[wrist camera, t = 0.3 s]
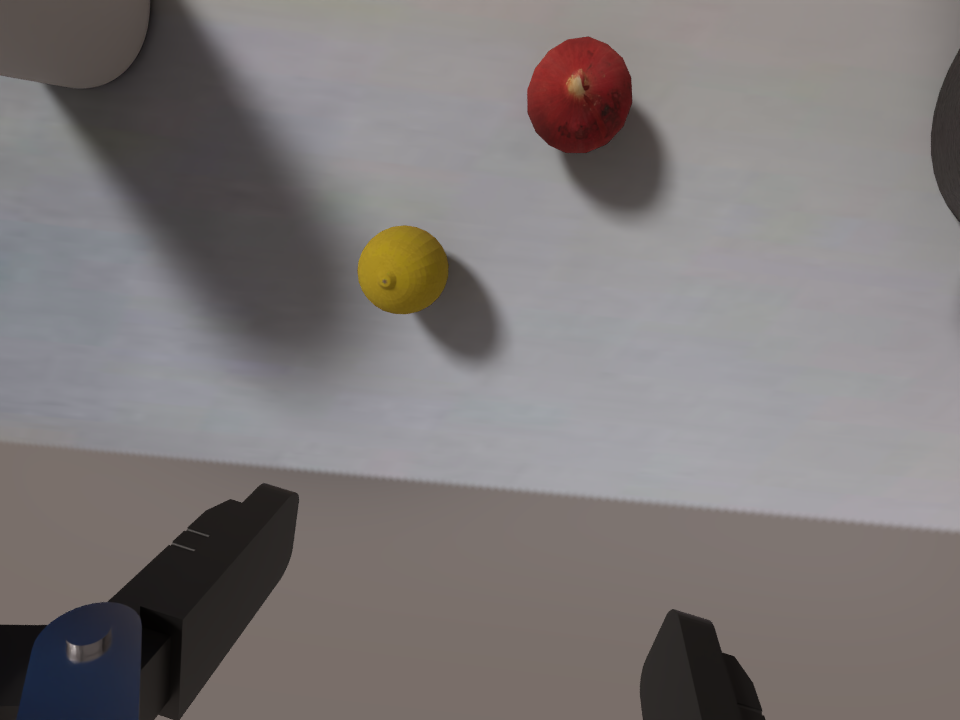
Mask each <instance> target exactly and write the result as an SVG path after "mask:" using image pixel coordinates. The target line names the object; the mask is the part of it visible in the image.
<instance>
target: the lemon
mask: <svg viewBox="0 0 960 720" xmlns="http://www.w3.org/2000/svg"><path fill="white" fill-rule="evenodd" d="M448 267H449V266H448V261H447V256H446V254H445V252H444V249H443V247H442V246H441V244H440V243H439V242H438V241H437V239H436V238H435V237H433V236H432V235H431V234H429V233H428V232H427V231H424V230H422V229H420V228H417V227H412V226H396V227H391V228H389V229H386V230H384V231H381V232H380V233H379V234H377V235H376V236H375V237H373V238H372V239H371V240H370V241H369V243H368V244H367V245H366V247H365V248H364V249H363V251H362V254H361V256H360V259H359V263H358V279H359V283H360V286H361V289H362V291H363V293H364V294H365V296H366V297H367V298H368V299H369V300H370V301H371V302H372V303H373V304H374V305H375V306H376V307H378V308H380V309H382V310H383V311H386V312H390V313H393V314H410V313H414V312H418V311H421V310H422V309H424V308H426V307H428V306H430V305H431V304H432V303H433V302H434V301H435V300H436V299H437V298H438V297H439V296H440V294H441V293H442V291H443V289H444V288H445V285H446V282H447V278H448Z"/></svg>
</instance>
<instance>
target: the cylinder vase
mask: <svg viewBox="0 0 960 720" xmlns="http://www.w3.org/2000/svg"><path fill="white" fill-rule="evenodd" d="M149 16H150V0H0V75H1V76H6V77H12V78H18V79H23V80H29V81H35V82H40V83H46V84H52V85H57V86H63V87H69V88H92V87H97V86H101V85H104V84H106V83H108V82H110V81H112V80H114V79H116V78H117V77H118V76H120V75H121V74H122V73H123V72H125V71H126V70H127V69H128V67H129V66H130V65H131V64H132V63H133V61H134V60H135V58H136V57H137V55H138V53H139V51H140V49H141V47H142V45H143V42H144V39H145V36H146V33H147V29H148V23H149Z"/></svg>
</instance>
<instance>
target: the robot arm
mask: <svg viewBox="0 0 960 720" xmlns="http://www.w3.org/2000/svg"><path fill="white" fill-rule="evenodd" d="M298 503H299V496H298V494H297V493H295V492H292V491H289V490H285V489H282V488H279V487H275V486H272V485H269V484H265V483H263V484H261V485H260V486H259V487H257V489H255V491H253V493H252V494H251V495H250V496H249V497H248V498H247V499H246V500H245V501H244V502H243V503H241V502H238V501H235V500H231V499H230V500H228V501H225V502H223V503H221V504H219V505H217V506H215V507H213V508H211V509H208V510H206V511H205V512H204V513H203V514H202V515H201V516H200V517H198V518H197V519H196V520H195V521H194V522H193V523H192V524H191V525H190V526H189V527H188V529H187V531H183V533H181V534H180V535H179V536H178V537H177V538H176V539H175V540H174V541H173V543H172V545H171V546H170V545H169V546H167V547H166V548H165V549H164V550H163V551H162V552H161V553H160V554H159V555H158V556H156V558H154V559H153V560H152V561H151V562H150V563H149V564H148V565H147V566H146V567H145V568H144V569H143V570H141V571H140V572H139V573H138V574H137V575H136V576H135V577H134V578H133V579H132V580H131V581H130V582H128V583H127V584H126V585H125V586H124V587H123V588H122V589H121V590H120V591H119V592H118V593H117V594H116V595H114V596H113V597H112V598H111V599H110V600H109V601H108V602H100V603H92V604H88V605H84V606H81V607H78V608H75V609H73V610H70V611H68V612H66V613H64V614H63V615H61V616H59V617H58V618H56V619H55V620H53V621H52V622H51V623H50V624H48V625H0V720H154V719H155V718H156V717H157V715H161V716H164V717H167V718H170V719H173V720H180V718H181V717H182V716H183V714H184V713H185V712H186V710H187V709H188V707H189V706H190V705H191V703H192V702H193V700H194V699H195V698H196V696H197V695H198V693H199V692H200V691H201V689H202V688H203V686H204V685H205V684H206V682H207V681H208V680H209V678H210V677H211V675H212V674H213V672H214V671H215V670H216V668H217V667H218V666H219V664H220V663H221V661H222V660H223V659H224V657H225V656H226V654H227V653H228V652H229V650H230V649H231V647H232V646H233V645H234V643H235V642H236V640H237V639H238V638H239V636H240V635H241V634H242V632H243V631H244V629H245V628H246V626H247V625H248V624H249V622H250V621H251V620H252V618H253V617H254V615H255V614H256V612H257V611H258V610H259V608H260V607H261V606H262V604H263V603H264V601H265V600H266V599H267V597H268V596H269V594H270V593H271V592H272V590H273V589H274V587H275V586H276V585H277V583H278V582H279V580H280V579H281V577H282V576H283V574H284V572H285V570H286V568H287V565H288V563H289V560H290V557H291V554H292V549H293V541H294V534H295V527H296V519H297V511H298ZM640 699H641V708H642V716H643V720H765V717H764V716H763V715H762V708H761V705H760V702H759V700H758V696H757V694H756V691H755V688H754V685H753V682H752V681H751V680H750V678H749V677H748V675H747V674H746V672H745V671H744V670H743V668H742V667H741V665H740V664H739V662H738V661H737V659H736V658H735V657H734V656H731V655H728V654H725V653H722V651H721V648H720V645H719V642H718V638H717V635H716V631H715V628H714V626H713V624H712V622H711V621H710V620H707V619H704V618H700V617H697V616H694V615H691V614H687V613H684V612H680V611H677V610H674V609H672V610H671V611H669V612H668V614H667V615H666V617H665V619H664V622H663V624H662V626H661V628H660V630H659V632H658V634H657V637H656V639H655V641H654V643H653V645H652V648H651V650H650V652H649V654H648V656H647V658H646V660H645V663H644V666H643V669H642V674H641V681H640Z"/></svg>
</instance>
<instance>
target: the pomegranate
mask: <svg viewBox="0 0 960 720" xmlns="http://www.w3.org/2000/svg"><path fill="white" fill-rule="evenodd" d="M527 99H528V115H529V117H530V120H531V122H532V124H533V127H534V129H535V131H536V133H537V134H538V135H539V136H540V137H541V138H542V139H543V140H544V141H545V142H546V143H547V144H548V145H550V146H552V147H554V148H556V149H559V150H561V151H563V152H565V153H587V152H589V151H592V150H594V149H596V148H599V147H601V146H604V145H606V144H607V143H608V142H609V141H610V140H611V139H612V138H613V137H614V136H615V135H616V134H617V133H618V132H619V131H620V130H621V128H622V127H623V126H624V123H625V121H626V118H627V115H628V113H629V110H630V107H631V104H632V84H631V76H630V74H629V71H628V69H627V67H626V64H625V62H624V60H623V58H622V57H621V56H620V55H619V54H618V53H617V52H616V51H614V50H613V49H612V48H611V47H610V46H609V45H608V44H606V43H603V42H601V41H598V40H596V39H593V38H591V37H582V38H575V39H568V40H566V41H564V42H563V43H561V44H559V45H558V46H556V47H555V48H553V49H551V50H550V51H549V52H548V53H547V54H546V55H545V57H544V58H543V59H542V60H541V62H540V63H539V64H538V65H537V67H536V68H535V70H534V73H533V76H532V78H531V81H530V84H529V87H528V90H527Z"/></svg>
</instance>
